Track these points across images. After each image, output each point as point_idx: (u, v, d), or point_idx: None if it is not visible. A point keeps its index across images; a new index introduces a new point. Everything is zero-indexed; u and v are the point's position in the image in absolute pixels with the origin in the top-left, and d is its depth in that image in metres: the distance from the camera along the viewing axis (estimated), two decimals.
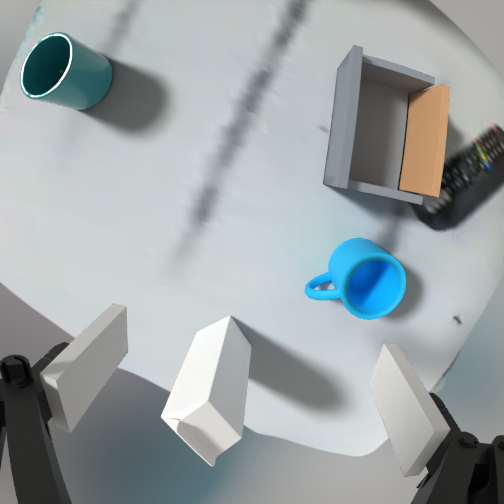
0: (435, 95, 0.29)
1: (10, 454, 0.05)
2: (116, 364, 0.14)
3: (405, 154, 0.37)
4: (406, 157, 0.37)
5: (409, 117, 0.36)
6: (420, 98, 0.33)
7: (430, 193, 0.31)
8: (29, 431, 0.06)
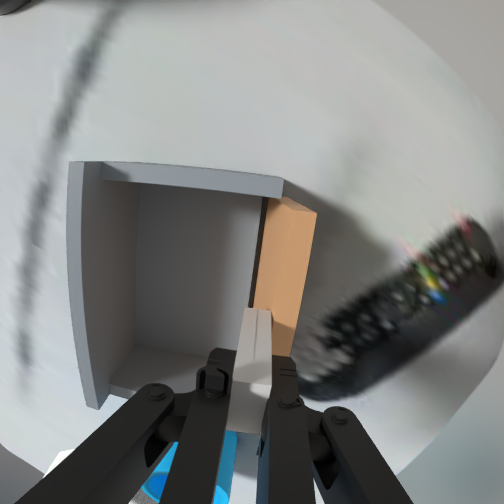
0: (283, 231, 0.16)
1: (174, 459, 0.07)
2: None
3: None
4: None
5: (263, 242, 0.23)
6: (273, 214, 0.20)
7: None
8: (206, 443, 0.08)
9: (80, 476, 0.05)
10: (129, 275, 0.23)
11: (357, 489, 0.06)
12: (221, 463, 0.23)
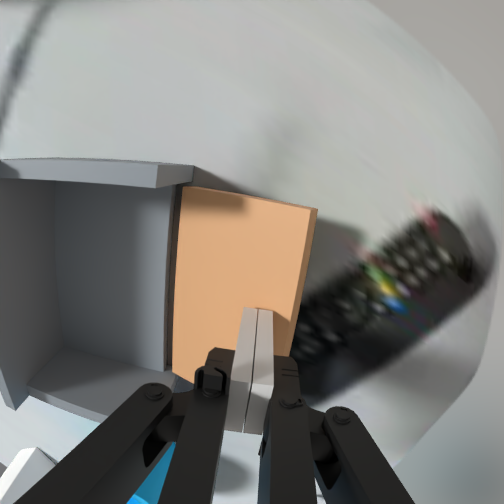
0: (283, 229, 0.16)
1: (172, 458, 0.07)
2: None
3: (178, 318, 0.21)
4: (182, 325, 0.21)
5: (183, 242, 0.19)
6: (221, 210, 0.18)
7: None
8: (204, 443, 0.08)
9: (78, 475, 0.05)
10: (46, 275, 0.19)
11: (359, 489, 0.06)
12: (149, 475, 0.20)
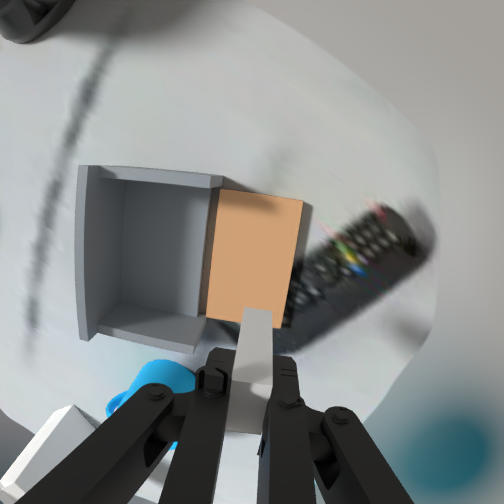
0: (288, 212, 0.30)
1: (173, 459, 0.07)
2: None
3: (214, 275, 0.32)
4: (217, 279, 0.32)
5: (220, 224, 0.31)
6: (249, 203, 0.30)
7: (279, 326, 0.33)
8: (205, 443, 0.08)
9: (79, 475, 0.05)
10: (116, 246, 0.31)
11: (358, 489, 0.06)
12: None
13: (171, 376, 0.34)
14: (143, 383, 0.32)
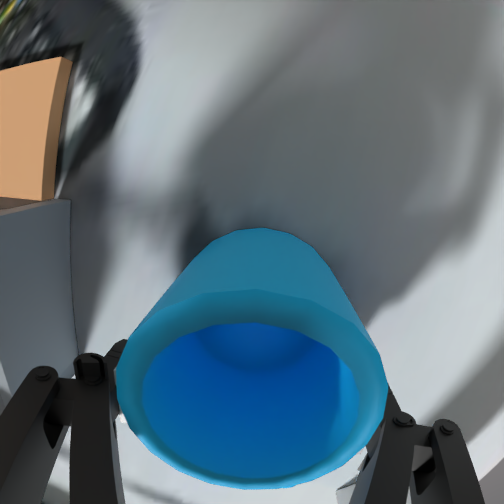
0: None
1: (71, 450, 0.06)
2: None
3: None
4: None
5: None
6: None
7: (58, 59, 0.12)
8: (96, 430, 0.07)
9: None
10: None
11: (446, 493, 0.06)
12: (178, 282, 0.10)
13: None
14: None
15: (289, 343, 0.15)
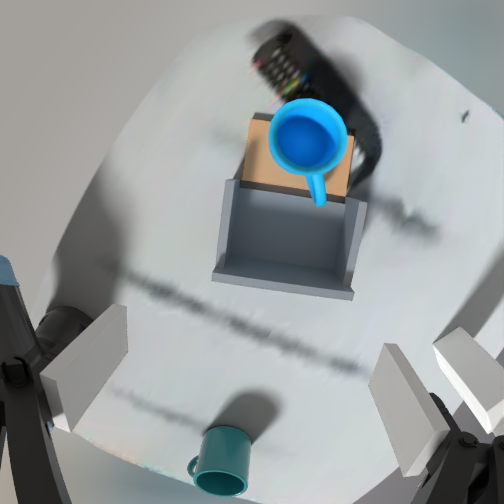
0: (259, 129, 0.38)
1: (10, 454, 0.05)
2: (116, 364, 0.14)
3: None
4: None
5: (268, 180, 0.40)
6: (252, 158, 0.39)
7: (352, 137, 0.38)
8: (29, 431, 0.06)
9: None
10: (284, 266, 0.41)
11: None
12: None
13: None
14: (269, 146, 0.34)
15: (314, 153, 0.37)
